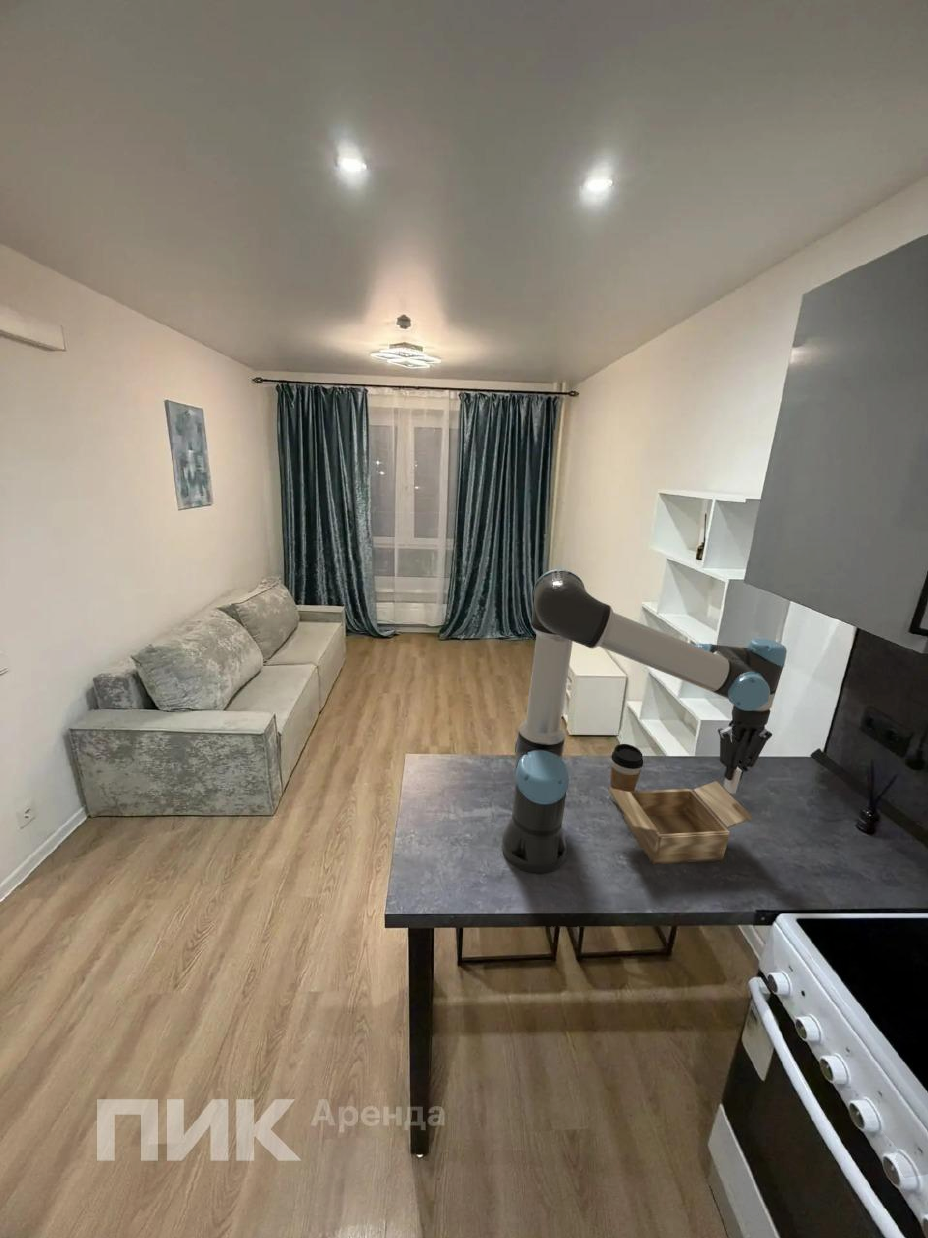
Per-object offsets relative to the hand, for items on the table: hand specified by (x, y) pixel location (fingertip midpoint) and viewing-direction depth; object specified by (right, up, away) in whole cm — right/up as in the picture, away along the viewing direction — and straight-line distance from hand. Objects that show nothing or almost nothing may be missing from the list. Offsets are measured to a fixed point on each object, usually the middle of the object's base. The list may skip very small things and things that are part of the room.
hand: (729, 790), depth 124 cm
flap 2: (-5, -5, +1) cm, 7 cm away
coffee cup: (-22, -8, +16) cm, 29 cm away
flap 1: (-22, -5, -2) cm, 23 cm away
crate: (-14, -13, +2) cm, 19 cm away
